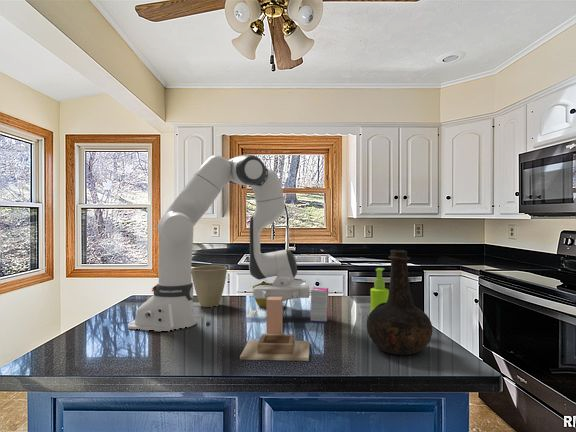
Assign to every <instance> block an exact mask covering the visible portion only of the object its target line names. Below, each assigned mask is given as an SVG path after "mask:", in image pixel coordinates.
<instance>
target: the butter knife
mask: <svg viewBox="0 0 576 432" xmlns="http://www.w3.org/2000/svg"><path fill="white" fill-rule="evenodd" d="M257 312H258V310H255V309H253V310H250V311H249V315H248V316H247V318H248V319H251V318H252V317H253V316H254V314H256V313H257Z"/></svg>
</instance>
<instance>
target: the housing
mask: <svg viewBox="0 0 576 432" xmlns="http://www.w3.org/2000/svg"><path fill="white" fill-rule="evenodd" d="M295 336H296V335H295V333H293V334H290V333H289V334H287V333H283V334H267V333H262V334H261V335H260V338H259V339H248V341H247V343H246V344H245V347H244V349H243V350H242V352H241V354H240V356H239V360H245V361H246V360H248V361H249V360H250V361H252V360H253V361H255V360H256V361H257V360H258V361H292V362H293V361H295V362H296V361H299V362H304V361H305V362H309V361H310V360H309V359H310V346H311V345H310V344H311V343H310V340H296V339H295V338H296V337H295Z"/></svg>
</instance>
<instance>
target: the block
mask: <svg viewBox="0 0 576 432" xmlns="http://www.w3.org/2000/svg"><path fill="white" fill-rule="evenodd" d="M265 308H266V334H284V331H283V327H284V326H283V301H282V297H268V298H267V300H266V307H265Z"/></svg>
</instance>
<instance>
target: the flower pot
mask: <svg viewBox="0 0 576 432" xmlns="http://www.w3.org/2000/svg"><path fill="white" fill-rule="evenodd" d="M272 283H273V282H272ZM272 283H271V282H259V283H257V284H253V285H252V289H253V288H254V287H256V286H259V285H272ZM254 300H255V302H256V304H257V306H258V307H259V308H261V307H262V308H266V300H267V299H264V298H254Z"/></svg>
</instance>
